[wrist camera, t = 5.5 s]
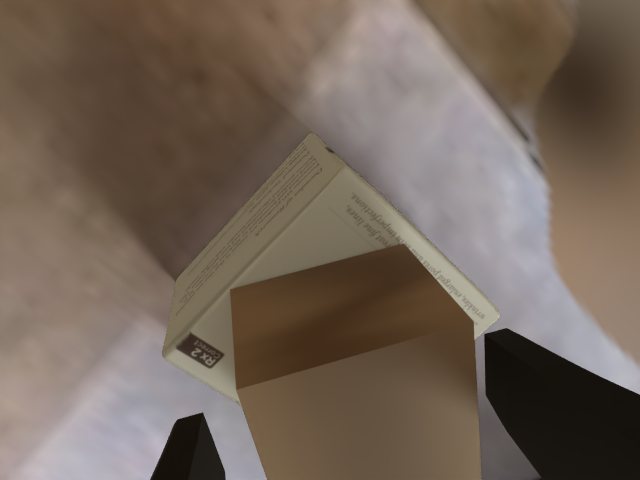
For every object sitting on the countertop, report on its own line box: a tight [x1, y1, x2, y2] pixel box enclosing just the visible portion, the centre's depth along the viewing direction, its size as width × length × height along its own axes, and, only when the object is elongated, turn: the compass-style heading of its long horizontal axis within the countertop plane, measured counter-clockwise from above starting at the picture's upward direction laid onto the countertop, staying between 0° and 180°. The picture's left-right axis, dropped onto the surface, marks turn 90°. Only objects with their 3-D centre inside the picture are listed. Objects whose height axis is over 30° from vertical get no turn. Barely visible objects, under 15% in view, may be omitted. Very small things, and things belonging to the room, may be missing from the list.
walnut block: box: [230, 243, 482, 480], centre depth 12 cm, size 5×5×4 cm
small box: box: [162, 133, 500, 407], centre depth 17 cm, size 8×8×5 cm
